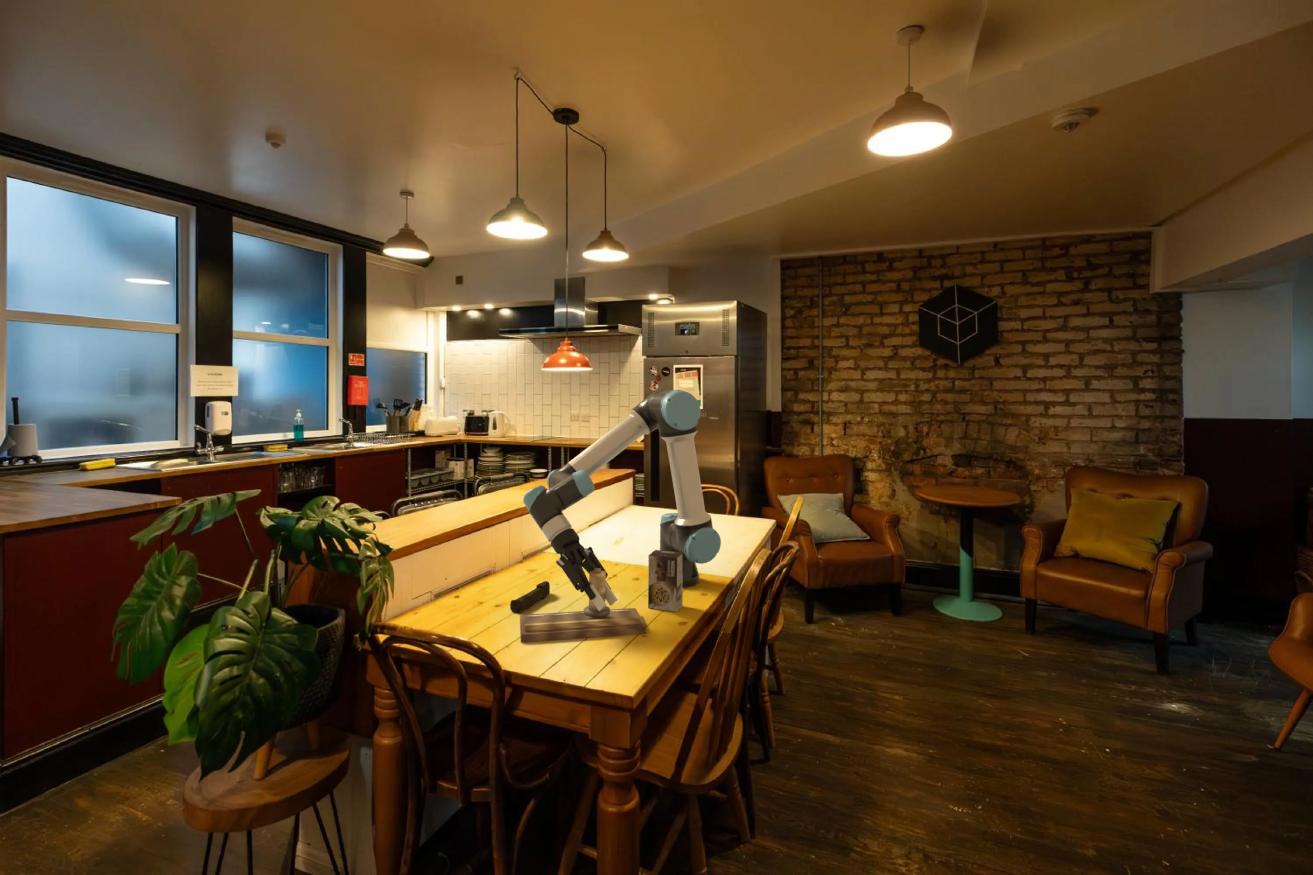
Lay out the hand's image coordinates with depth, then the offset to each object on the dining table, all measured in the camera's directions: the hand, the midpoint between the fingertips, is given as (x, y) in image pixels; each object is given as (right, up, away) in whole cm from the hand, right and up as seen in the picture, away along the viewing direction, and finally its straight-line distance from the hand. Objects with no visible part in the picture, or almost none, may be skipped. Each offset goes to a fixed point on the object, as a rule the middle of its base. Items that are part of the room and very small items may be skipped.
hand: (608, 605), depth 164 cm
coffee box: (+15, -6, +18) cm, 25 cm away
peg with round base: (-3, -3, +2) cm, 5 cm away
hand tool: (-24, -5, +20) cm, 32 cm away
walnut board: (-7, -6, +1) cm, 9 cm away
